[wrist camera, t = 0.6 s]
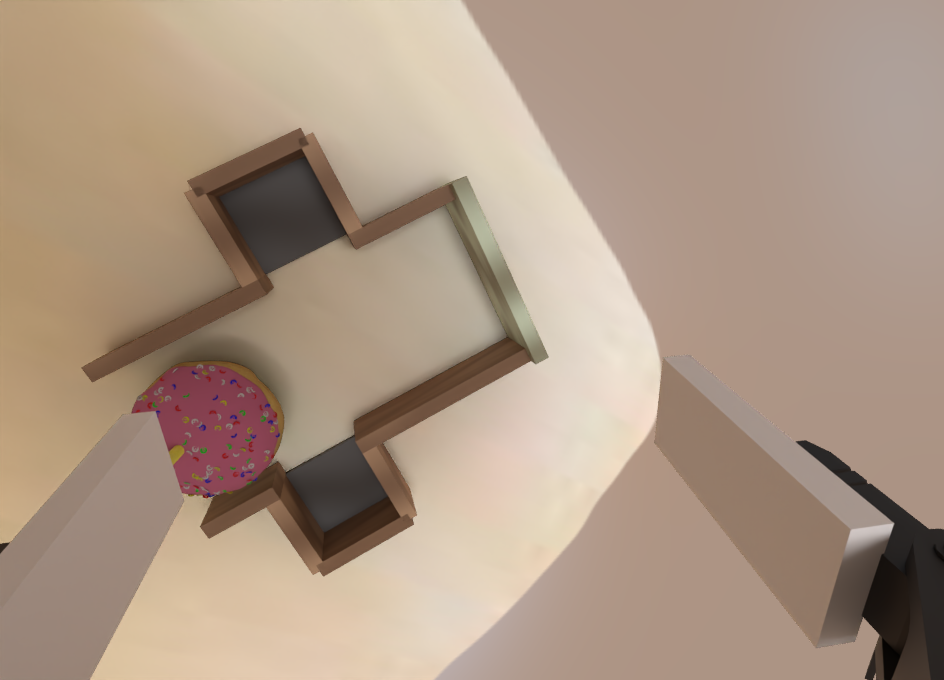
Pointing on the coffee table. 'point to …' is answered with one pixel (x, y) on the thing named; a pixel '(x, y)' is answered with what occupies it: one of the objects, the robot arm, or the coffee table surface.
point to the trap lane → (253, 256)
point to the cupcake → (215, 424)
